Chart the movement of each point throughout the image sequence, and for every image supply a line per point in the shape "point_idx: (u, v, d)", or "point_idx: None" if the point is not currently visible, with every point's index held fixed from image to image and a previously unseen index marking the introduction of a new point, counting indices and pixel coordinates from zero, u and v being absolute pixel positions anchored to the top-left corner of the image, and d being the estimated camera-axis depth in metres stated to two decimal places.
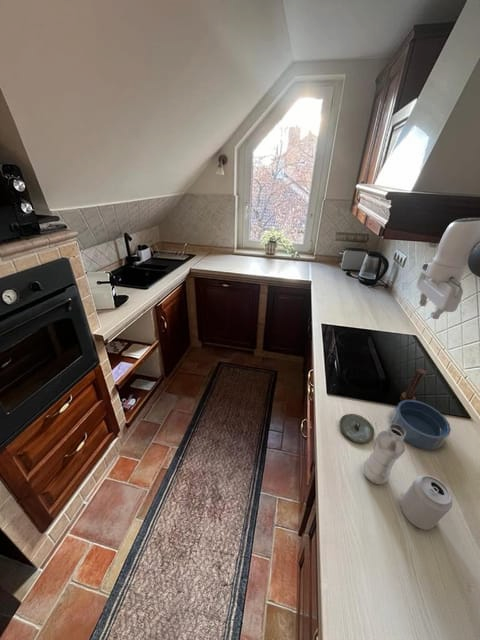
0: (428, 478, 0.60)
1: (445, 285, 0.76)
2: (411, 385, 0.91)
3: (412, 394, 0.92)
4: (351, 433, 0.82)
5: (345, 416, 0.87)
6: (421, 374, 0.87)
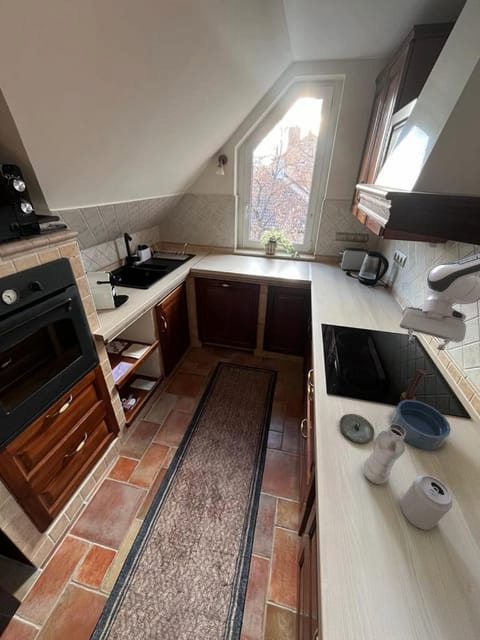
0: (428, 478, 0.60)
1: None
2: (411, 385, 0.91)
3: (412, 394, 0.92)
4: (351, 433, 0.82)
5: (345, 416, 0.87)
6: (421, 374, 0.87)
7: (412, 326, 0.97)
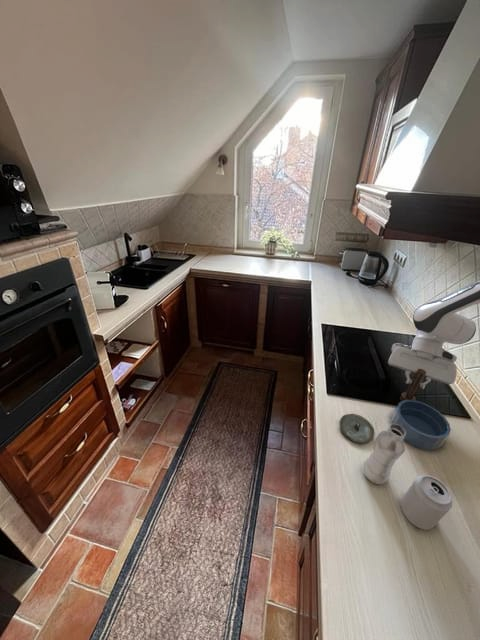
0: (428, 478, 0.60)
1: None
2: (411, 385, 0.91)
3: (412, 394, 0.92)
4: (351, 433, 0.82)
5: (345, 416, 0.87)
6: (421, 374, 0.87)
7: (401, 365, 0.93)
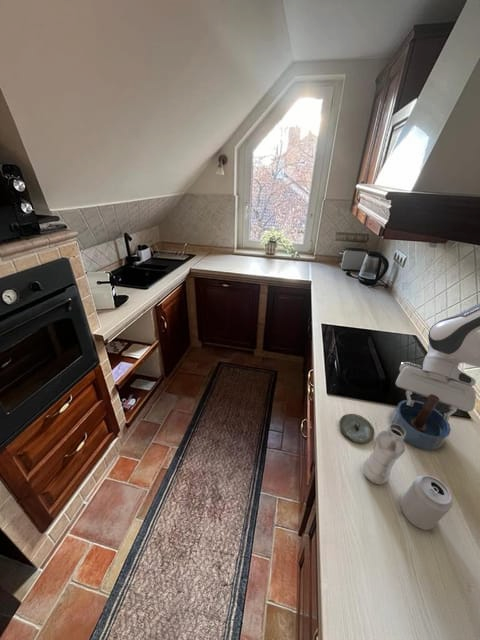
0: (428, 478, 0.60)
1: None
2: (421, 412, 0.80)
3: (422, 422, 0.81)
4: (351, 433, 0.82)
5: (345, 416, 0.87)
6: (434, 401, 0.76)
7: (410, 388, 0.81)
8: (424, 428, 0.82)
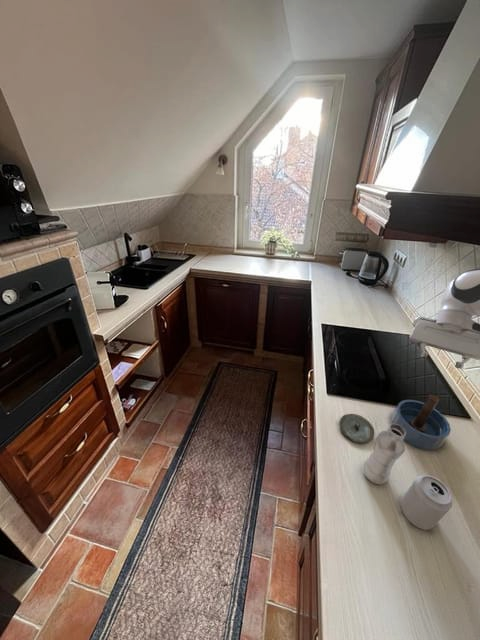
0: (428, 478, 0.60)
1: None
2: (421, 412, 0.80)
3: (422, 422, 0.81)
4: (351, 433, 0.82)
5: (345, 416, 0.87)
6: (434, 401, 0.76)
7: (425, 340, 0.84)
8: (424, 428, 0.82)
